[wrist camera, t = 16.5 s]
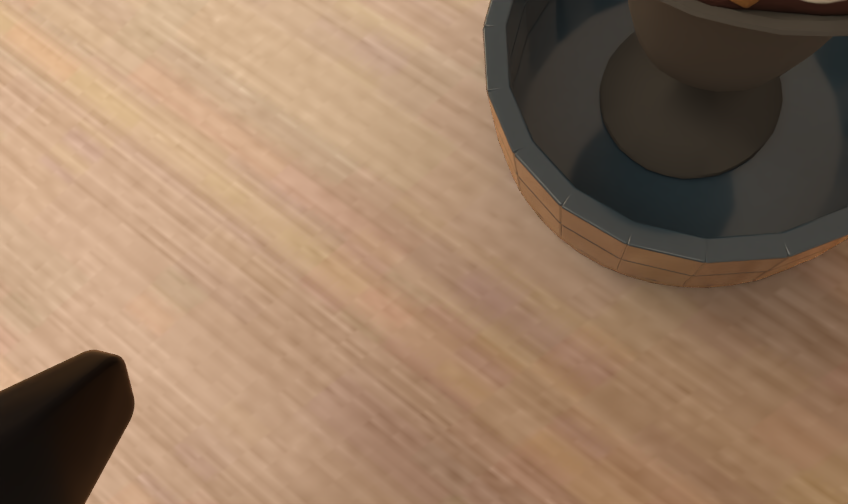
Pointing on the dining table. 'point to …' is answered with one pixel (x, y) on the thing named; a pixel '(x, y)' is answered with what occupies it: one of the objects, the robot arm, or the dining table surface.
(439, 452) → the dining table surface
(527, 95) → the dark grey round dish
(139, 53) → the dining table surface
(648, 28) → the sundae
